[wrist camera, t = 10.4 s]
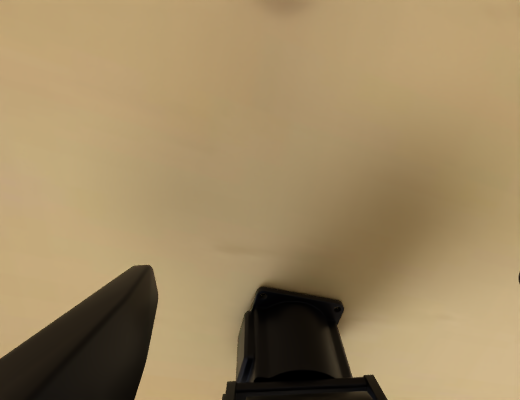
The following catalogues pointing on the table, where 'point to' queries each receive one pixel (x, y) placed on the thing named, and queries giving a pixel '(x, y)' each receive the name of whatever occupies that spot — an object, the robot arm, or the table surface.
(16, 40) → the table surface
